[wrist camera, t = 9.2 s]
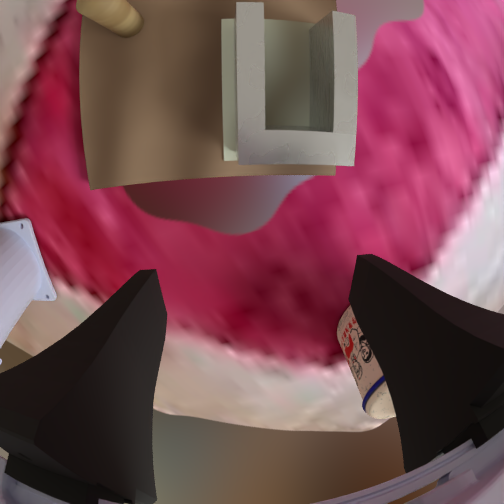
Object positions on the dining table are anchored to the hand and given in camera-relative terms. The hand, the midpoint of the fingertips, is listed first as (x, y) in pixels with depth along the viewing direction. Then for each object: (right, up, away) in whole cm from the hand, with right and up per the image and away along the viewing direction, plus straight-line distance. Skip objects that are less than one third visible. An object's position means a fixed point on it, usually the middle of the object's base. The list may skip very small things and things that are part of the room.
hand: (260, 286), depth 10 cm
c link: (+1, +11, +4) cm, 12 cm away
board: (-3, +12, +4) cm, 13 cm away
